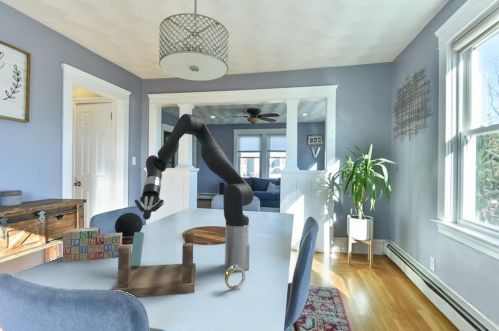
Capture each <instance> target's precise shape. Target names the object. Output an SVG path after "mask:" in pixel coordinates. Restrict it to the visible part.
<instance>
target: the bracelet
mask: <svg viewBox="0 0 499 331" xmlns="http://www.w3.org/2000/svg"><path fill="white" fill-rule="evenodd" d="M238 265H239V264H238ZM238 265H237V264H236V265H234V264H233V266H231V267H230V268H229V269H228V270H227V269H226V270H227V271H226V272H225V275H224V282H225V283H224V284H225V285H226V287H227V288H228V289H229V290H234V291H236V290H238V289H240V288H241V287H242V286H243V284H244V283H245V280H246V273H245V270H243V269H242V268H240V265H239V266H238ZM231 269H233V270H232V271H230V270H231ZM235 270H240V271H239V272H241V281H240V282H239V283H238V284H237V285H236V284H235V285H233V286H232V285H230V284H229V282H228V281H229V278H230V276H232V274H233V273H235V272H236V271H235Z"/></svg>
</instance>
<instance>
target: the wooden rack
mask: <svg viewBox="0 0 499 331" xmlns="http://www.w3.org/2000/svg"><path fill="white" fill-rule="evenodd" d="M181 250H182V252H181V253H182V254H181V255H182V256H181V257H182V258H181V259H182V260H181V263H175V264H170V263H169V264H154V265H153V264H152V265H150V264H149V265H140V267H131V253H132V244H129V245H122V246H120V247H119V248H118V257H117V284H116V285H115V286H114V288H113V289H112V291H113V290H121V291H124V292H128V293H130V294H132V295H134V296H135V297H145V296H146V297H147V296H159V295H171V294H173V295H174V294H188V293H195V288H196V287H195V286H196V271H197V270H196V269H197V268H196V265H197V264H196V263H195V262H194V232H185V234H184V242H183V243H182V249H181Z"/></svg>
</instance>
